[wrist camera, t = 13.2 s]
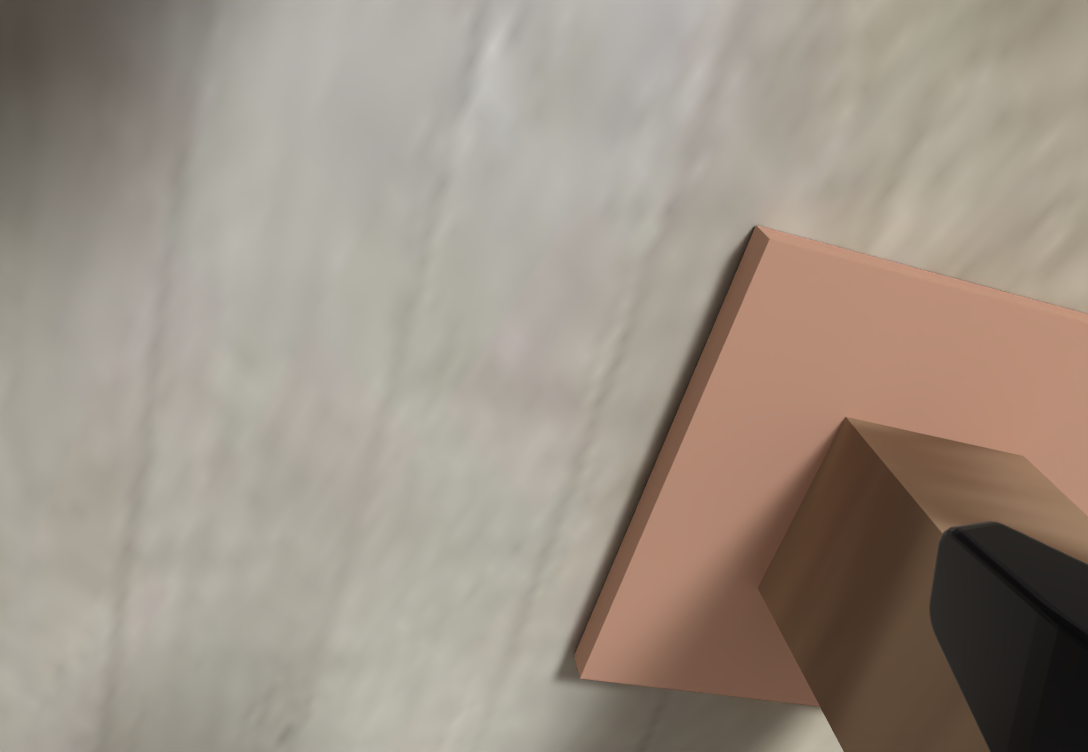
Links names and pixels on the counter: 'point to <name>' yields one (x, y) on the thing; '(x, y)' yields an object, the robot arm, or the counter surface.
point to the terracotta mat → (816, 444)
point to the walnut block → (896, 577)
